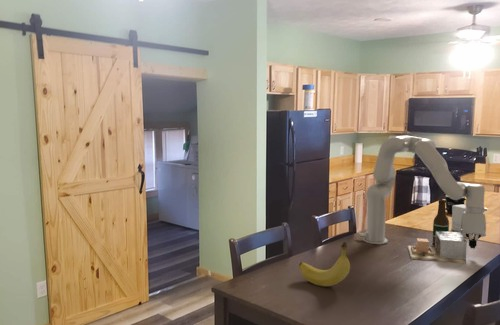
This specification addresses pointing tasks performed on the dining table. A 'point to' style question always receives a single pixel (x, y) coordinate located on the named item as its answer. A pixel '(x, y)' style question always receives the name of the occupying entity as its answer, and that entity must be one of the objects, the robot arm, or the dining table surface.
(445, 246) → the cover
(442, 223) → the beer bottle
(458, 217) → the supplement box
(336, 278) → the banana
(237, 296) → the dining table surface
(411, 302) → the dining table surface
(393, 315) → the dining table surface
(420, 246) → the jaw block
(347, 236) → the dining table surface
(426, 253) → the housing base
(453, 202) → the mug
